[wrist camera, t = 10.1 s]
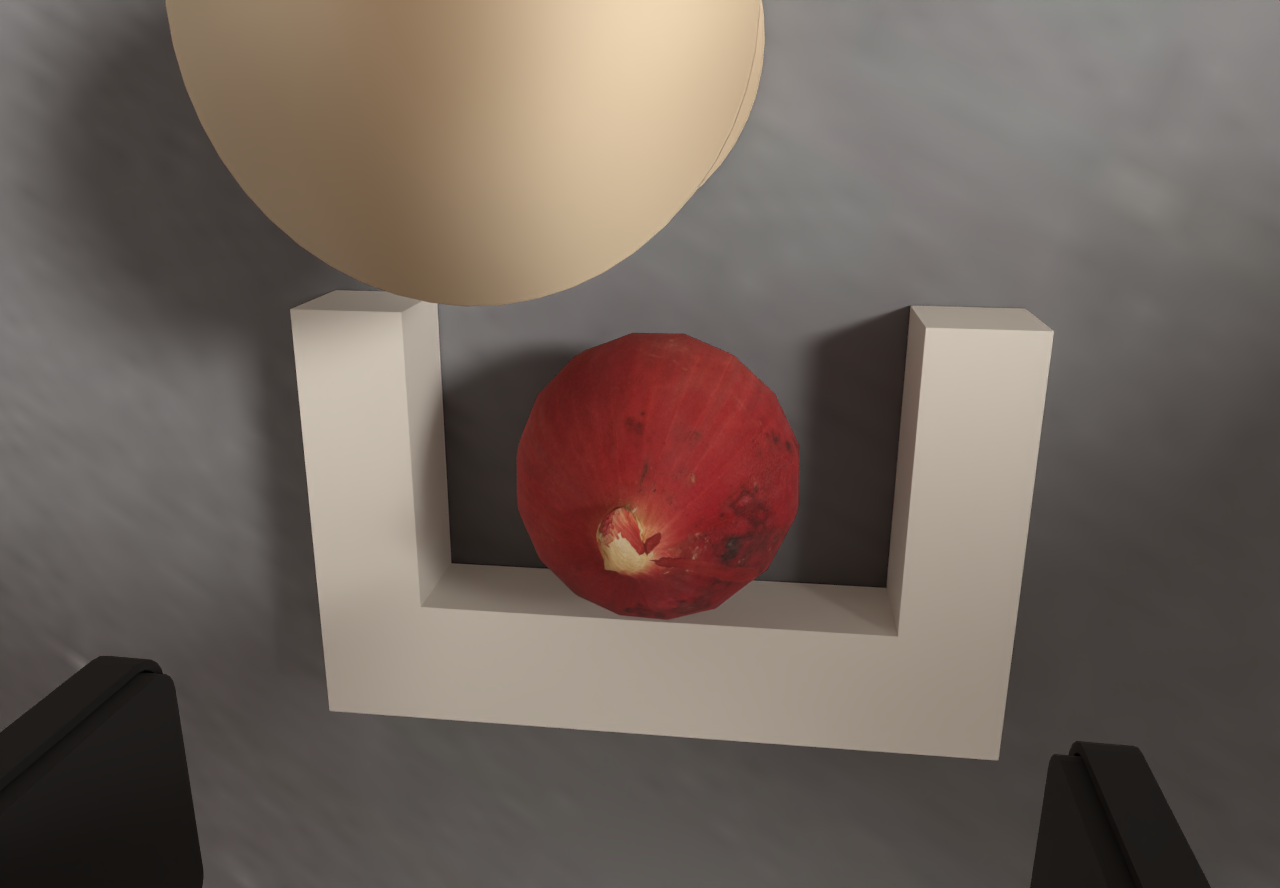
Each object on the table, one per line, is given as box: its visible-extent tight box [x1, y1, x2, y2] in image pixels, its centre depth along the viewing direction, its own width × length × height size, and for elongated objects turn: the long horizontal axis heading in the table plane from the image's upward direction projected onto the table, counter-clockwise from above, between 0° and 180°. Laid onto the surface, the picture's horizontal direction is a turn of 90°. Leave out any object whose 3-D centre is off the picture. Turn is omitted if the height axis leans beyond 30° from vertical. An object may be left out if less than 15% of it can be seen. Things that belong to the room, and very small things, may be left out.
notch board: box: [290, 290, 1054, 760], centre depth 24 cm, size 16×10×2 cm, turn 90°
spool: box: [165, 0, 765, 306], centre depth 18 cm, size 8×8×10 cm
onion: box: [517, 333, 799, 620], centre depth 21 cm, size 6×6×8 cm
